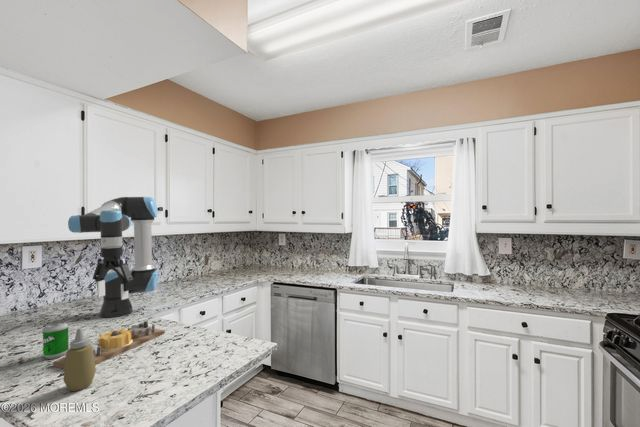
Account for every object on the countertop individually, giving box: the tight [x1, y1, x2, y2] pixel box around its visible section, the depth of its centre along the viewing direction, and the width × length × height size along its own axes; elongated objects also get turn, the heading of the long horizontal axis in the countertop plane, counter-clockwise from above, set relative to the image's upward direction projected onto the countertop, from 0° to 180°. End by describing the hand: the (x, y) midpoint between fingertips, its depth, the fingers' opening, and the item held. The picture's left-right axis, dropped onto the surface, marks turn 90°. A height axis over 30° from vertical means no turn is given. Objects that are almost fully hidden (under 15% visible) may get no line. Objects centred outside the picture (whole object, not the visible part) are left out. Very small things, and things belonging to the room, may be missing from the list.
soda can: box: [42, 321, 70, 360], centre depth 119 cm, size 8×8×12 cm
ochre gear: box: [97, 328, 132, 350], centre depth 125 cm, size 11×11×4 cm
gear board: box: [52, 320, 166, 370], centre depth 125 cm, size 36×14×7 cm, turn 160°
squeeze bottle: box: [63, 328, 97, 392], centre depth 97 cm, size 8×8×18 cm
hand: (113, 297), depth 129 cm, fingers open, 13 cm apart
